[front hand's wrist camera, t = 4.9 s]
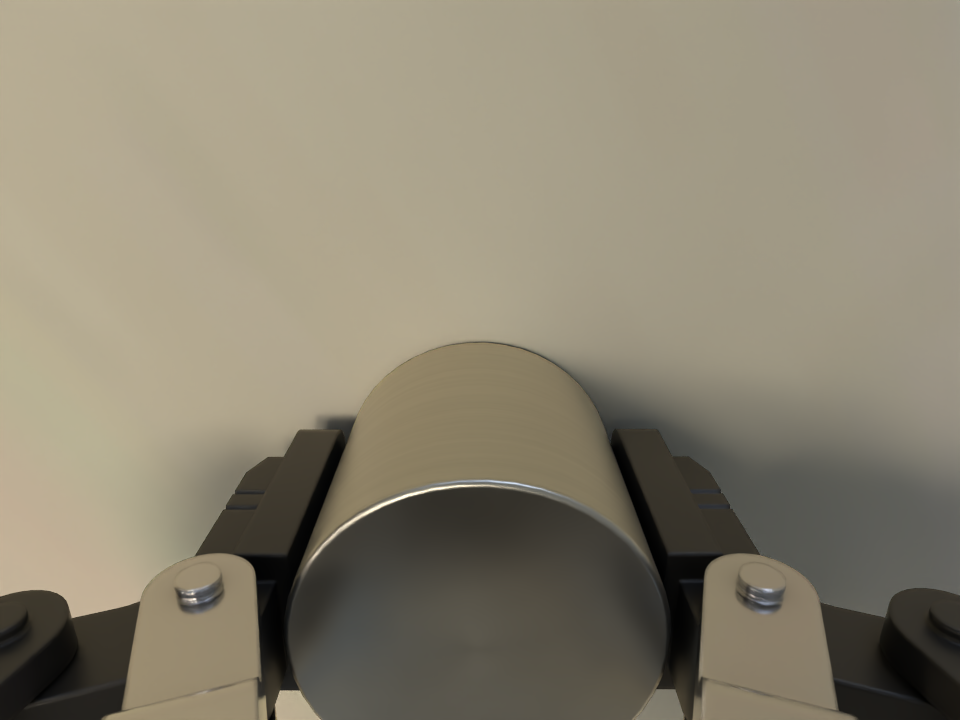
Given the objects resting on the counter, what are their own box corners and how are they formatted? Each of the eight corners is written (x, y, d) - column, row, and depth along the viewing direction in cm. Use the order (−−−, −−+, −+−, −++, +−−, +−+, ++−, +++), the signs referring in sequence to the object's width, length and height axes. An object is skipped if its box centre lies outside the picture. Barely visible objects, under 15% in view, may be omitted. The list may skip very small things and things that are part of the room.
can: (369, 574, 13) (318, 795, 9) (329, 351, 12) (244, 496, 7) (608, 558, 13) (669, 775, 9) (605, 330, 12) (678, 467, 7)
